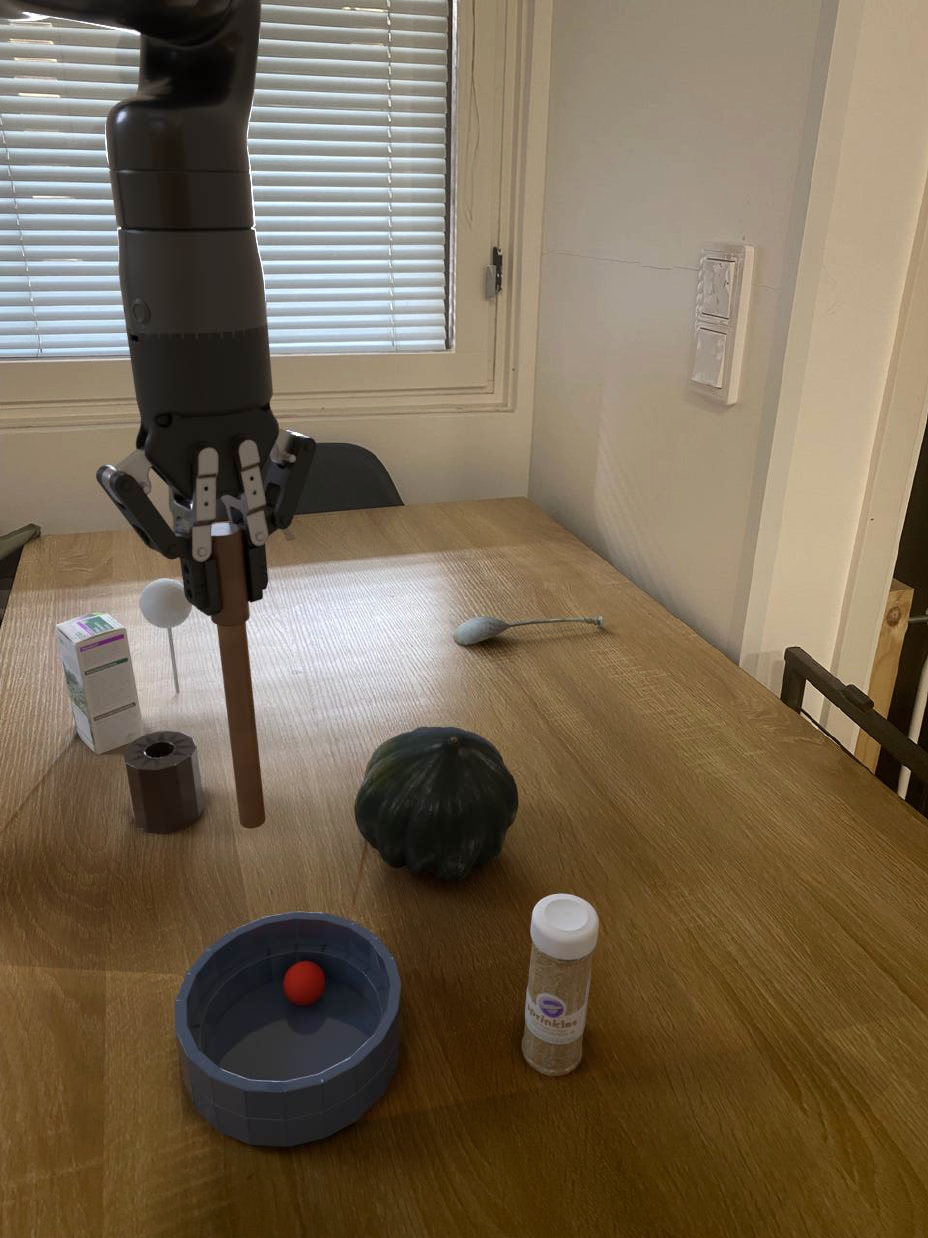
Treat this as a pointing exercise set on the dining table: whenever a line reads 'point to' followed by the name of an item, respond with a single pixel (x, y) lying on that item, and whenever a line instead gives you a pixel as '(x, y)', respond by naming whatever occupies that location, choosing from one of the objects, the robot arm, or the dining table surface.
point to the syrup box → (100, 681)
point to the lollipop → (165, 610)
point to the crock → (163, 781)
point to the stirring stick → (238, 671)
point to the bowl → (289, 1029)
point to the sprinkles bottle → (558, 982)
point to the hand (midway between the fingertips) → (228, 603)
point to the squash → (437, 802)
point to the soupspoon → (502, 627)
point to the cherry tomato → (304, 983)
